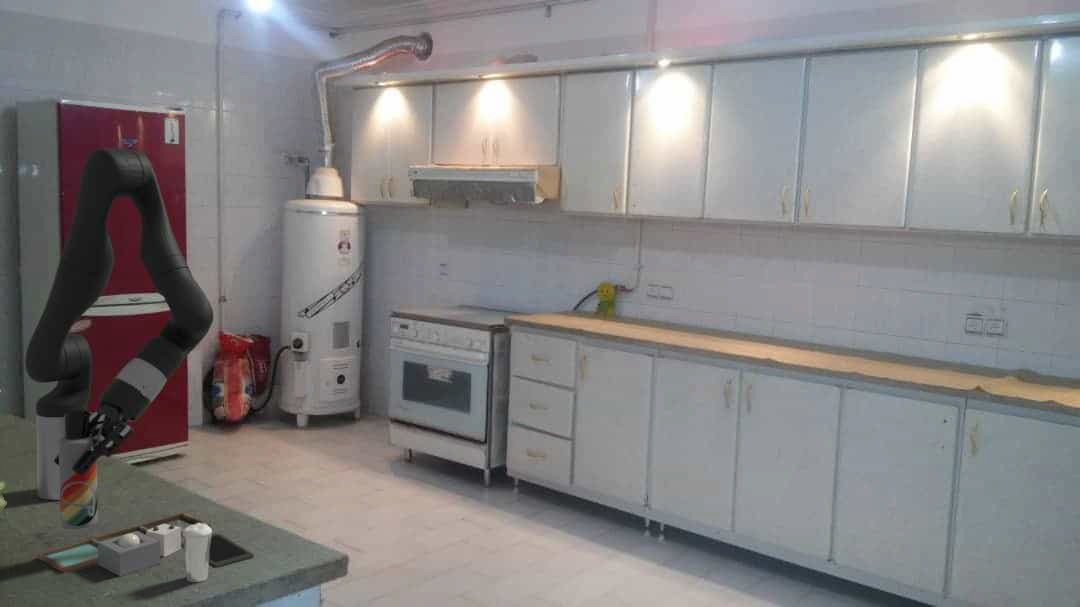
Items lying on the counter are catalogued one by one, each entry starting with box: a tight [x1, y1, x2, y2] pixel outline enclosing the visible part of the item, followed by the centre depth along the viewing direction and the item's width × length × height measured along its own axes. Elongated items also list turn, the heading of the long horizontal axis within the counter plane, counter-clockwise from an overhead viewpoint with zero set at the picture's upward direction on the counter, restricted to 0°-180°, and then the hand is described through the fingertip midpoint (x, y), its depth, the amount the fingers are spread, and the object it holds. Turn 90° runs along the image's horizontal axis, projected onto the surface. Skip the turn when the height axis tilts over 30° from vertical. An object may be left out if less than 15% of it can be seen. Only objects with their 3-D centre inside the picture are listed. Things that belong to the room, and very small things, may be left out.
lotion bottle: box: [59, 409, 99, 530], centre depth 151 cm, size 6×6×20 cm
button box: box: [97, 531, 161, 577], centre depth 150 cm, size 7×7×4 cm
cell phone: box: [181, 533, 255, 568], centre depth 158 cm, size 7×14×1 cm, turn 47°
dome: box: [118, 533, 140, 548], centre depth 150 cm, size 3×3×5 cm
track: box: [37, 512, 212, 574], centre depth 160 cm, size 9×28×1 cm, turn 144°
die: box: [145, 523, 182, 558], centre depth 157 cm, size 4×4×5 cm
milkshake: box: [177, 519, 213, 583], centre depth 146 cm, size 4×5×10 cm
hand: (67, 468), depth 149 cm, fingers closed on lotion bottle, 5 cm apart
